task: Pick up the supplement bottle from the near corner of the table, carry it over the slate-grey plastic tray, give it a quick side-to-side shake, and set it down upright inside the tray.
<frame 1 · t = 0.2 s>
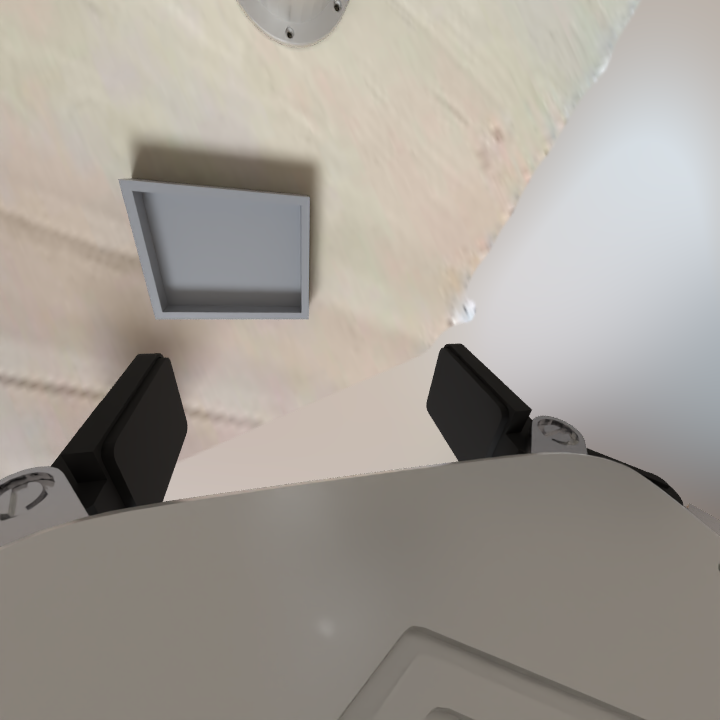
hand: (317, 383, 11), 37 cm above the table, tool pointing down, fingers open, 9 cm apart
tray: (232, 254, 41), on the table
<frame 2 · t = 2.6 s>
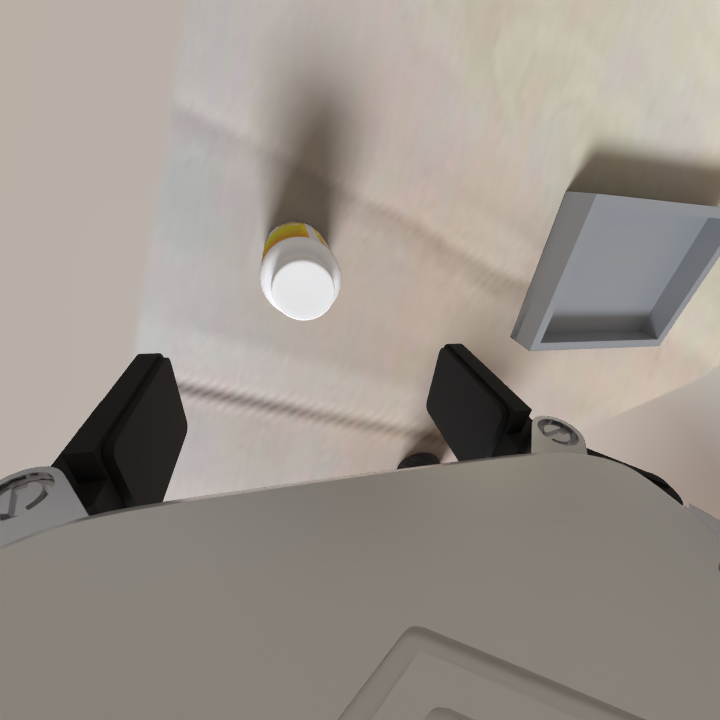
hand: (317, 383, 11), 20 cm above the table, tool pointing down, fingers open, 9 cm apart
travel mug: (416, 467, 48), on the table
supplement bottle: (296, 253, 28), on the table
tray: (605, 275, 36), on the table
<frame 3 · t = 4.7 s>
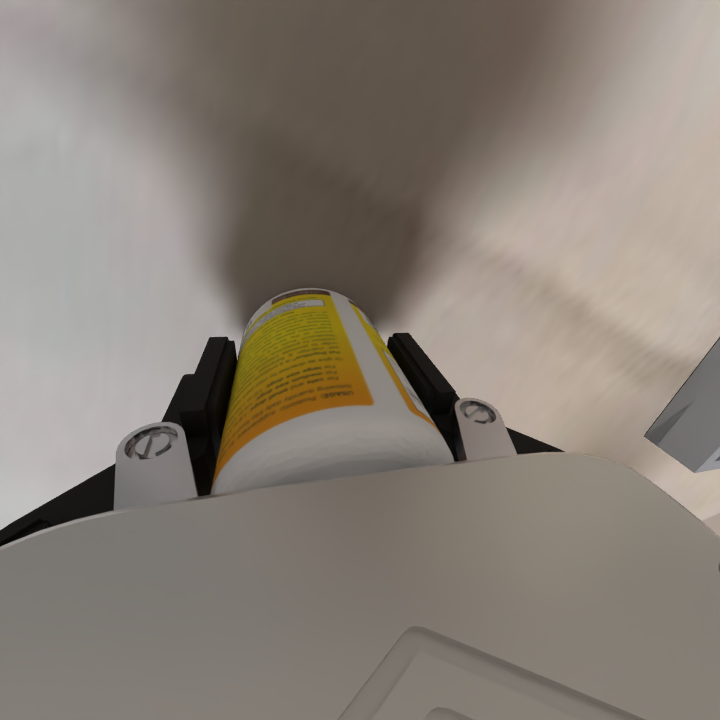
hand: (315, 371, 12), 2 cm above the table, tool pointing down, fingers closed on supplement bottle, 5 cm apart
supplement bottle: (310, 343, 13), on the table, touching gripper
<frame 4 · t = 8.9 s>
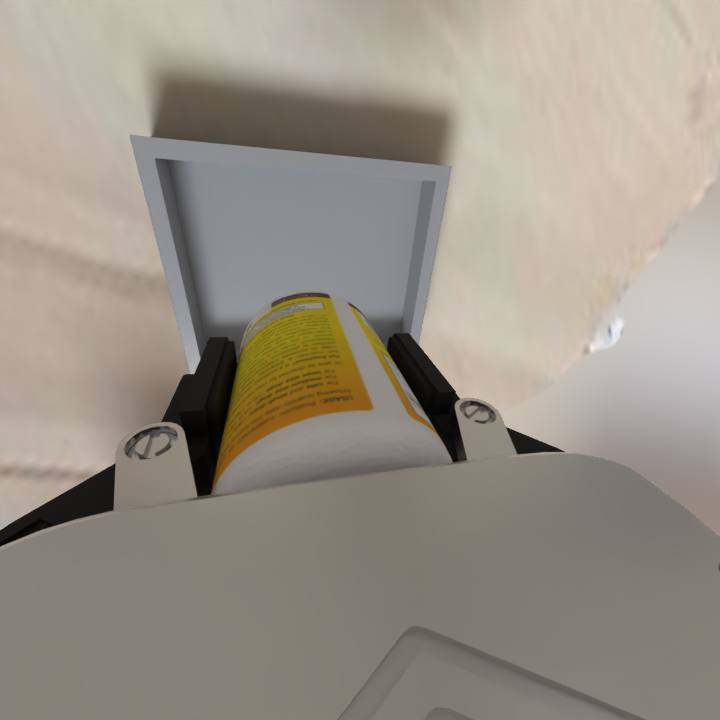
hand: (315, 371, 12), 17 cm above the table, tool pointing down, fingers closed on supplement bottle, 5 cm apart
supplement bottle: (310, 345, 13), point 15 cm above the table, touching gripper
tray: (307, 266, 26), on the table
when the fingers open (4 cm above the table, at t = 13.3 s): supplement bottle drops 1 cm, resting on tray.
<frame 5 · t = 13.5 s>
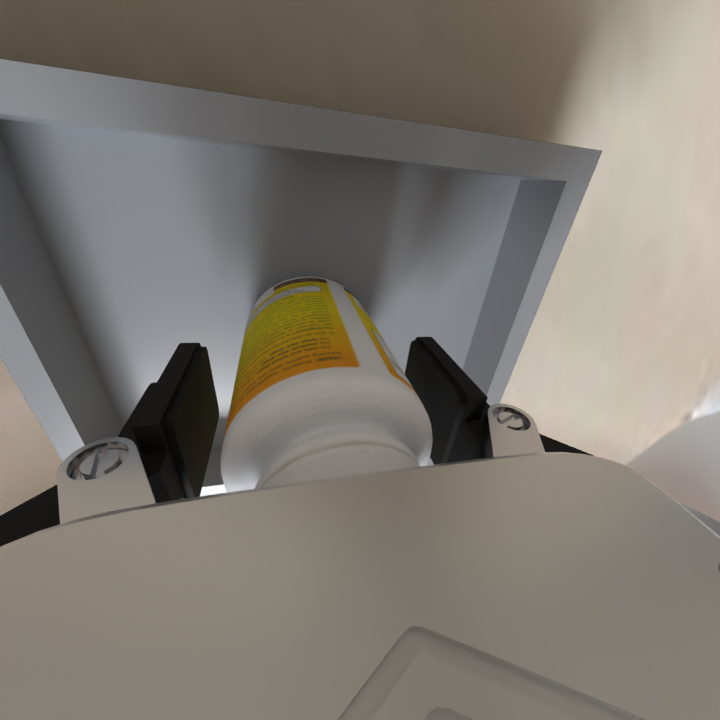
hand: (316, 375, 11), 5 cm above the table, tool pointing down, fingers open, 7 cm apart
supplement bottle: (309, 328, 15), point 1 cm above the table, touching tray
tray: (306, 322, 15), on the table
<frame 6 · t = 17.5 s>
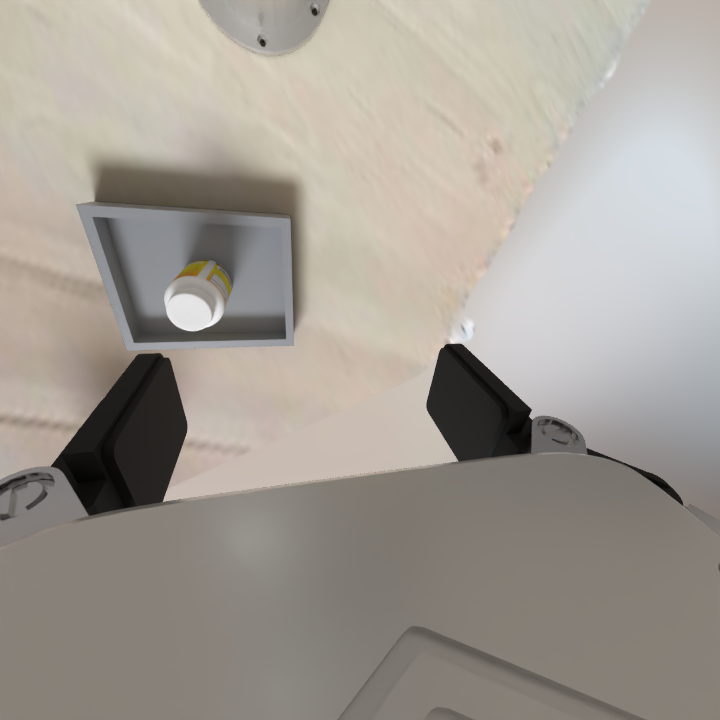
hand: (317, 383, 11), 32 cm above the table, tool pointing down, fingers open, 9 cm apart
supplement bottle: (209, 280, 38), point 1 cm above the table, touching tray
tray: (210, 279, 38), on the table
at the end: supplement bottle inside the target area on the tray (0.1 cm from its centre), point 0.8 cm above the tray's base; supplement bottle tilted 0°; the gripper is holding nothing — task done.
